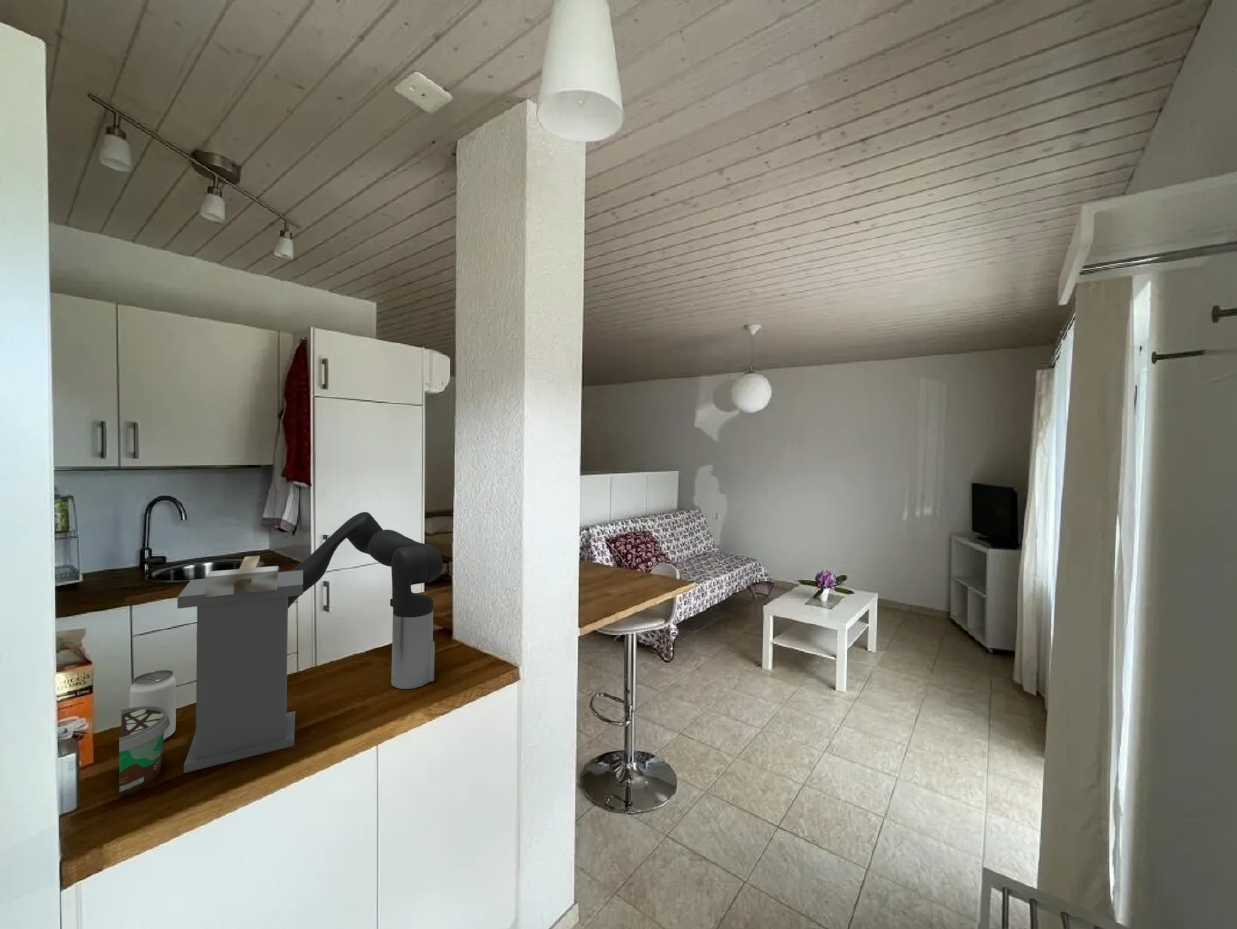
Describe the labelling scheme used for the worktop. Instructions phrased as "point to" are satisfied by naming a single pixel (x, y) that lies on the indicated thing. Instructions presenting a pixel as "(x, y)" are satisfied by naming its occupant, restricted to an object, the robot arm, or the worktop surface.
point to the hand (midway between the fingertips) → (254, 573)
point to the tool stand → (241, 672)
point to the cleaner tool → (242, 579)
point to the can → (156, 694)
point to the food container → (140, 746)
